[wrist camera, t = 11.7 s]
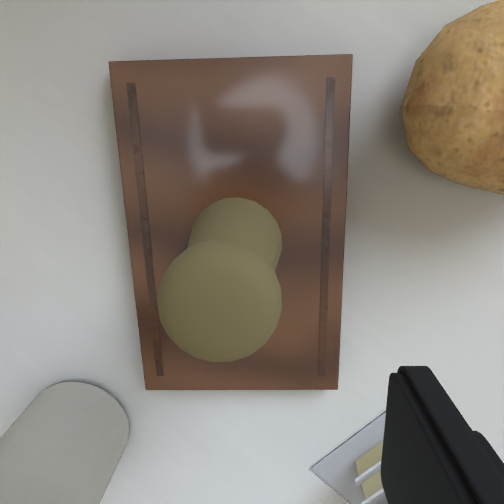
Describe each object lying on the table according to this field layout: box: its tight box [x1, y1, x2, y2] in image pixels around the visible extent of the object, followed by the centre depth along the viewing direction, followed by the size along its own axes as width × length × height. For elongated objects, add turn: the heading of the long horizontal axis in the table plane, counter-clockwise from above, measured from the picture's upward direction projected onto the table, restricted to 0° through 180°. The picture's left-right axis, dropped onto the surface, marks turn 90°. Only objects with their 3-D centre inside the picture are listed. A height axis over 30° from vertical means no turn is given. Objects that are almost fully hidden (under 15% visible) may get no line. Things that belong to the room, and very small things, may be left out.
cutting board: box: [109, 54, 353, 390], centre depth 26 cm, size 22×14×2 cm, turn 1°
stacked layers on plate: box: [310, 412, 388, 504], centre depth 30 cm, size 10×9×6 cm
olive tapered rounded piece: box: [158, 197, 282, 362], centre depth 20 cm, size 6×6×11 cm
